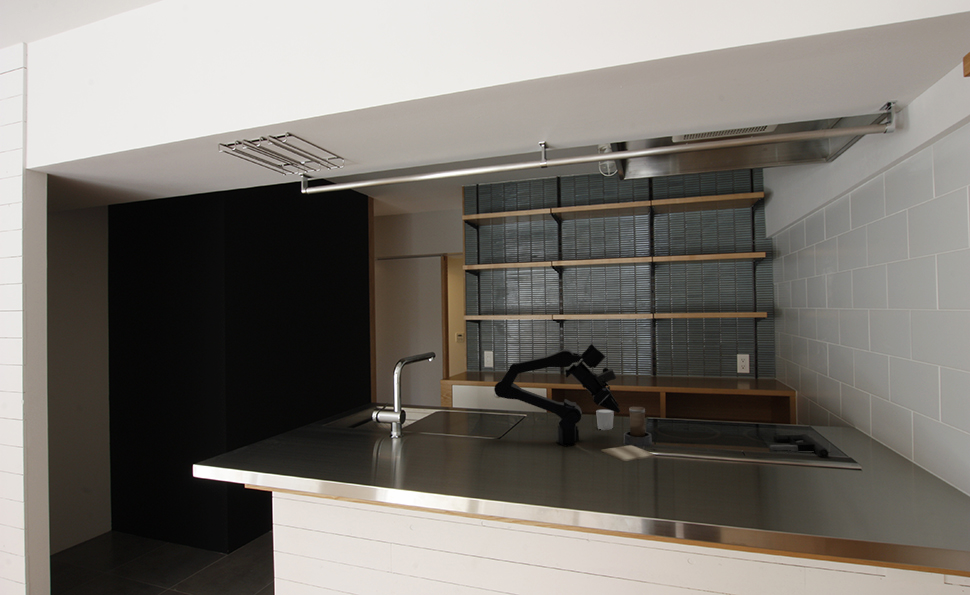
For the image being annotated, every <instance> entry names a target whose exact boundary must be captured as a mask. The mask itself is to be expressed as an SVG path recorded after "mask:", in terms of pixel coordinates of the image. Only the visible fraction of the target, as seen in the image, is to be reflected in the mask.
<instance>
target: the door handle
mask: <svg viewBox="0 0 970 595" xmlns="http://www.w3.org/2000/svg"><path fill="white" fill-rule="evenodd" d="M772 439H773V441H774V443H784V444H769V449H770V450H771V451H773V450H788V451H787V452H798V451H814V452H816V453H817V455H818V456H819V455H820V456H819V457H821V456H827V457H828V456H829V453H830V451H828V449H827V448H826V447H824V446H823V445H822V444H820V443H819V442H818V441H817V440H815V438H813V437H811V436H810V435H809V434H807V433H801V434H791V435H790V434H786V435H784V434H782V435H781V434H780V435H778V434H777V435H774V436H773V437H772ZM786 443H788V444H786ZM790 444H791V445H790ZM789 450H791V451H789ZM816 453H815V454H816Z"/></svg>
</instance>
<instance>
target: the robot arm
mask: <svg viewBox="0 0 970 595" xmlns="http://www.w3.org/2000/svg"><path fill="white" fill-rule="evenodd" d="M606 358H607V356H606V354H604V352H602V351H601V350H600V349H599V348H597V347H596V346H595V345H594V344H593V343H590V345H589V346H587V349H585V350H584V351H583V352H582V353H575V352H572V351H571V350H570V349H566V348H565V349H561V350H560V351H559V350H558V351H557V352H555V353H552V354H550V355H547V356H544V357H538V358H534V359H529V360H524V361H520V362H513V363H511V365H509V369H508V370H507V371H506V373H505V375H504V376H503V378H502V379H501V380H499V381H498V382H497V383H496V384H495V386H494V394H495V395H496V397H498V398H502V399H508V400H517V401H519V402H520V401H521V402H523V403H525V404H529V405H531V406H534V407H537V408H540V409H542V410H545V411H548V412H549V413H553V414H555V415H556V416H557V417H559V421H558V424H559V425H557V433H558V434H557V436H558V437H557V440H556V441H555V442H556V443H557V444H559V445H562V446H564V447H570V446H576V445H577V444H576V442H579V441H580V431H579V427H578V425H577V423H579V422H580V421H581V419H582V409H581V407H580V406H579V405H578V404H577V402H576V401H575V402H574V401H570V400H568V399H566V398H565V399H564V401H563V402H561V401H557V400H554V399H552V398H548V397H545V396H542V395H539V394H537V393H535V392H532V391H529V390H526V389H523V388H522V387H521V386H519V385H518V384H516V383H514V382H515V380H516V379H517V377H518V375H519V374H523V373H528V372H531V371H533V372H534V371H537V370H541V369H546V368H565V370H564V371H565V378H568V377H570V376H572V377H573V378H574V379H575V380H576V381H577V382H578V383H579V384H581V386H582V388H583V389H586V390H587V391H588V392H589V393H590V396H592V399H593V403H595V405H597V406H599V407H602V408H604V409H606V410H612V411H614V412H615V413H617V414H619V413H620V412H621V409H620V408H619V406H620V404H619V403H618V402H617V400H616V399H615V397H614V396H613V395H612V392H611V386H610V384H609V383H608V382H610V381H613V380H615V379H617V375H616V374H615V371H614V369H613V368H609V367H603V368H602V372H601V373H599V374H597V373H595V372H593V371H591V368H594V369H595V368H597V367H598V366H599V365H600V364H601V363H602V362H603V361H604V360H605V359H606ZM575 363H577V364H575ZM568 367H569V368H568Z"/></svg>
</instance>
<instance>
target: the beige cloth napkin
mask: <svg viewBox="0 0 970 595" xmlns="http://www.w3.org/2000/svg"><path fill="white" fill-rule="evenodd" d="M600 451H601V453H604V454H606V455H608V456H611V457H613V458H615V459H617V460H621V461H622V462H629V461H635V460H639V459H640V460H642V459H647V458H654V457H656V454H655V453H653V452H649V451H648V450H645V449H642V448H641V447H635V446H632V445H624V446H618V447H616V446H615V447H610V448H605V449H604V448H603V449H601V450H600Z"/></svg>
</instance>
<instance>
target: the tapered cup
mask: <svg viewBox="0 0 970 595" xmlns="http://www.w3.org/2000/svg"><path fill="white" fill-rule="evenodd" d="M628 408H629V409H628V412H629V431H630V436H634V437H645V432H646V418H645V417H646V415H645V414H646V408H645V407H643V406H630V407H628Z"/></svg>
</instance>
